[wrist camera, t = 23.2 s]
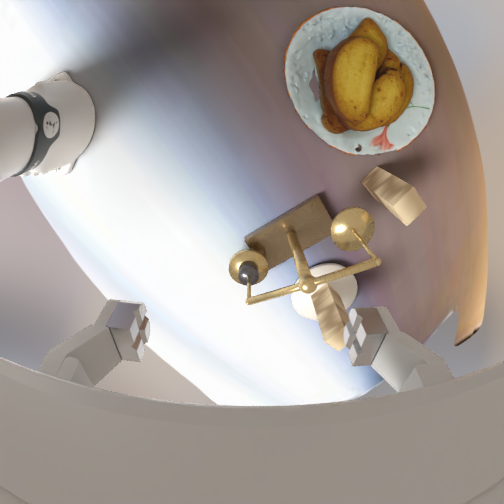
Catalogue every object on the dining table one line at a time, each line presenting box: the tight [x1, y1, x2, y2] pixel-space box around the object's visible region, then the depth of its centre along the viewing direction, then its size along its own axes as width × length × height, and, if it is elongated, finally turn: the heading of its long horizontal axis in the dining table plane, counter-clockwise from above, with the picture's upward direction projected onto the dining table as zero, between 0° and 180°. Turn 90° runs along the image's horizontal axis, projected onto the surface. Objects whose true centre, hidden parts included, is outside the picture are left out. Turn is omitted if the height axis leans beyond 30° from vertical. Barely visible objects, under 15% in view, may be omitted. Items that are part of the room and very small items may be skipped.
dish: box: [291, 263, 357, 320], centre depth 53 cm, size 13×13×2 cm
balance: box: [229, 194, 381, 305], centre depth 40 cm, size 24×7×19 cm, turn 123°
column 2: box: [361, 166, 426, 226], centre depth 38 cm, size 4×4×12 cm
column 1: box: [311, 283, 350, 351], centre depth 47 cm, size 4×4×12 cm
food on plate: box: [284, 7, 435, 155], centre depth 33 cm, size 25×25×7 cm
